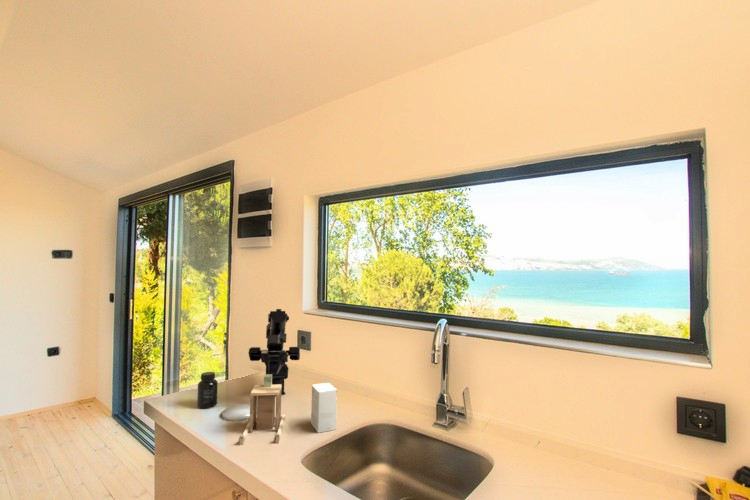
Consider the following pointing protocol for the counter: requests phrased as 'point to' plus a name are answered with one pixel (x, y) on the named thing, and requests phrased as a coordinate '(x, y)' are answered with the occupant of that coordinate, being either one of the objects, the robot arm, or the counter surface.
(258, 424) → the walnut block
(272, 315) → the robot arm
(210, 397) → the supplement bottle
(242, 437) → the track
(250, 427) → the wooden toy stool
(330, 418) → the small box
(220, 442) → the counter surface
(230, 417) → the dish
